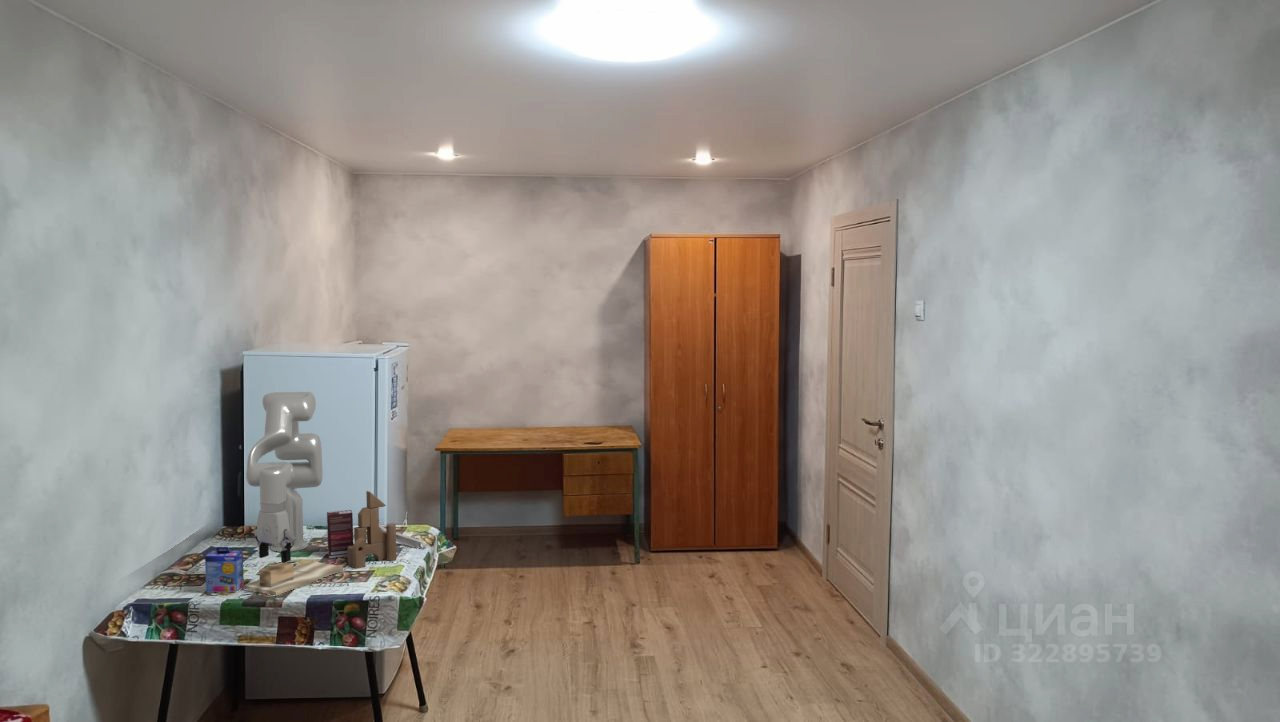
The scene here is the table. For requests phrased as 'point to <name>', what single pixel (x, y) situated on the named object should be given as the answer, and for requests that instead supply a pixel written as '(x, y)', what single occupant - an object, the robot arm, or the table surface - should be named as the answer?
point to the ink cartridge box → (224, 570)
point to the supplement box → (339, 533)
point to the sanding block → (276, 574)
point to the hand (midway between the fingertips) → (275, 559)
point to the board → (298, 578)
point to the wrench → (406, 539)
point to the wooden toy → (372, 535)
